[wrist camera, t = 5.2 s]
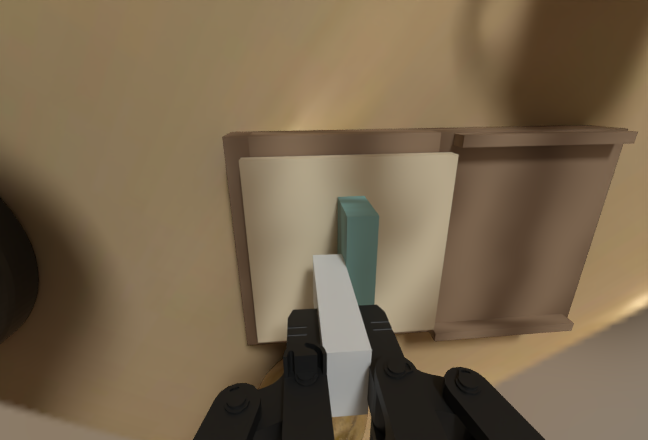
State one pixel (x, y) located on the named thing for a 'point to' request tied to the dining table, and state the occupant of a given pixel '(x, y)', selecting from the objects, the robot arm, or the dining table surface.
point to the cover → (348, 231)
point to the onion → (344, 427)
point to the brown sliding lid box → (478, 215)
